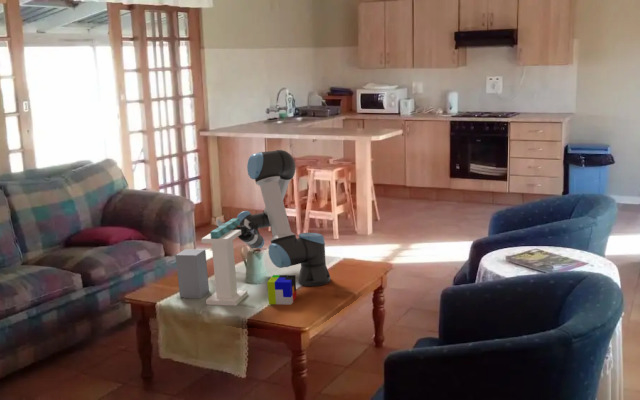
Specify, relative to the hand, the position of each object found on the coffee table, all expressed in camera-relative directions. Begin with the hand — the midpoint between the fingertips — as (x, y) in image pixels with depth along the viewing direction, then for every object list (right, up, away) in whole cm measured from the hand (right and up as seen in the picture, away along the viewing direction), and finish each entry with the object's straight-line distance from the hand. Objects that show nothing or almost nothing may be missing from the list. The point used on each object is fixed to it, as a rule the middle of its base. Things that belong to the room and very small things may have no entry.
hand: (231, 221), depth 315 cm
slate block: (-17, -33, +4) cm, 38 cm away
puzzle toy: (+24, -34, -11) cm, 43 cm away
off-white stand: (-1, -34, -6) cm, 35 cm away
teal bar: (-1, -4, -7) cm, 8 cm away
